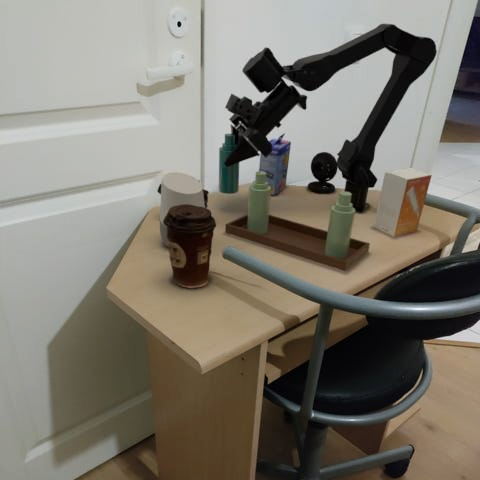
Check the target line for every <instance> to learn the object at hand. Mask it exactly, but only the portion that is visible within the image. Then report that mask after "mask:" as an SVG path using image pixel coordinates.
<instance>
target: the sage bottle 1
mask: <svg viewBox="0 0 480 480" xmlns="http://www.w3.org/2000/svg"><path fill="white" fill-rule="evenodd" d="M271 196H272V195H271V187H270V186H268V182H267V181H266V172H262V171H259V170H258V171H256V172H255V180H253V181H252V184H250V185H249V186H248V200H247V201H248V202H247V214H248V219H247V230H249V231H253V232H256V233H259V234H263V233H266V232H267V231H268V223H269V215H270V211H271V210H270V208H271Z"/></svg>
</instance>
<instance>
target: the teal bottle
mask: <svg viewBox="0 0 480 480" xmlns="http://www.w3.org/2000/svg"><path fill="white" fill-rule="evenodd" d="M236 145H237V144H236V143H235V135H234V134H231V133H225V134H224V142H223V143H222V145H221V147H219V148H218V192H220V193H221V194H228V195H231V194H232V195H233V194H236V193H238V192H239V187H240V186H239V185H240V184H239V183H240V162H239V163H236V164H233V165H231V166H228V167H227V166H226V165H225V164H224V162H225V161H226V159H227V158H228V156H229V155H230V153H231V152H232V151H233V149H234V148H235V147H236Z"/></svg>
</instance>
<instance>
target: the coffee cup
mask: <svg viewBox="0 0 480 480" xmlns="http://www.w3.org/2000/svg"><path fill="white" fill-rule="evenodd" d="M168 211H169V212H168V213H167V215H166V216H165V218H164V220H163V223H164V224H165V225H166V226H167V240H168V247H167V248H168V254H169V262H170V266H171V269H172V279H173V280H172V281H173V282H174V283H175V284H177V285H178V286H181V287H183V288H188V289H195V288H201V287H204V286H206V285H207V284H208V282H209V272H210V265H211V262H210V261H211V255H212V247H213V246H212V245H213V238H214V233H215V232H214V230H215V228H216V227H217V223H216V219H215V217H213V216H212V211H211V210H210V209H209V208H204V207H198V206H194V205H189V204H188V205H187V204H183V205H178V206H173V207H171V208H170V209H169V210H168Z"/></svg>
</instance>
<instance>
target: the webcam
mask: <svg viewBox="0 0 480 480" xmlns="http://www.w3.org/2000/svg"><path fill="white" fill-rule="evenodd" d="M310 171H311V174H312V176H313V177H314V178H315V179H316V180H314V181H310V182H309V183H308V184H307V189H308V191H310V192H312V193H315V194H331V193H334V192H335V190H336V187H335V185H334V184H333V183H331V182H330V181H332V180H333V179H334V178H335V177H336V176H337V173H338V166H337V159H336V157H335V156H334V155H333V154H332V153H330V152H326V151H322V152H318V153H316V154H315V155H314V156H313V157H312V160H311V162H310Z"/></svg>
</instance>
